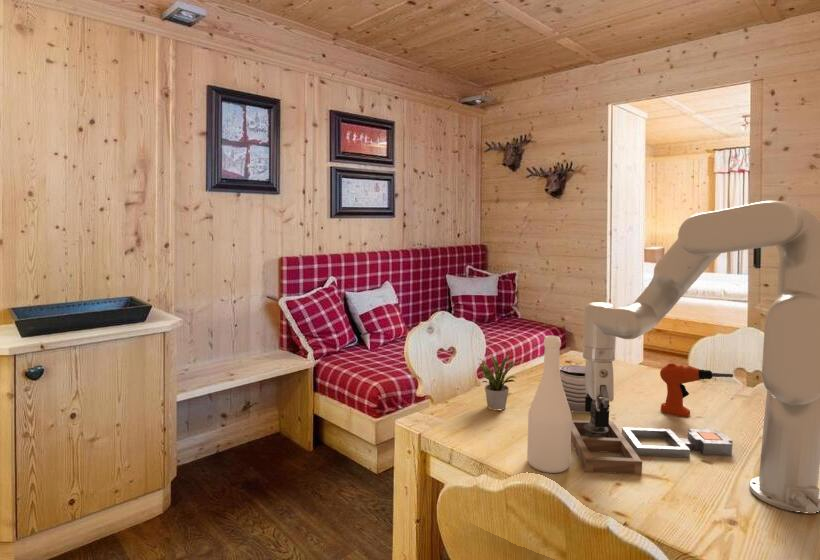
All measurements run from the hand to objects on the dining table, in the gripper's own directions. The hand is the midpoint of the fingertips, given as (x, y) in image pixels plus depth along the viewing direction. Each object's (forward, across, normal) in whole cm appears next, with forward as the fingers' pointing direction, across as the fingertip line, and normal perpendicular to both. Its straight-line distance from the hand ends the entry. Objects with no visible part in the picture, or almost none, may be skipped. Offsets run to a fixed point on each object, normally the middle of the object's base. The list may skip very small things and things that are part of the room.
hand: (596, 418), depth 130 cm
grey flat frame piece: (+6, -1, -19) cm, 20 cm away
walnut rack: (+6, -5, 0) cm, 8 cm away
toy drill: (+6, +20, -32) cm, 38 cm away
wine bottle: (+6, -14, +14) cm, 20 cm away
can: (+6, +25, -1) cm, 26 cm away
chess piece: (+6, 0, 0) cm, 6 cm away
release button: (+6, -1, -27) cm, 27 cm away
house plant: (+6, +22, +22) cm, 32 cm away
